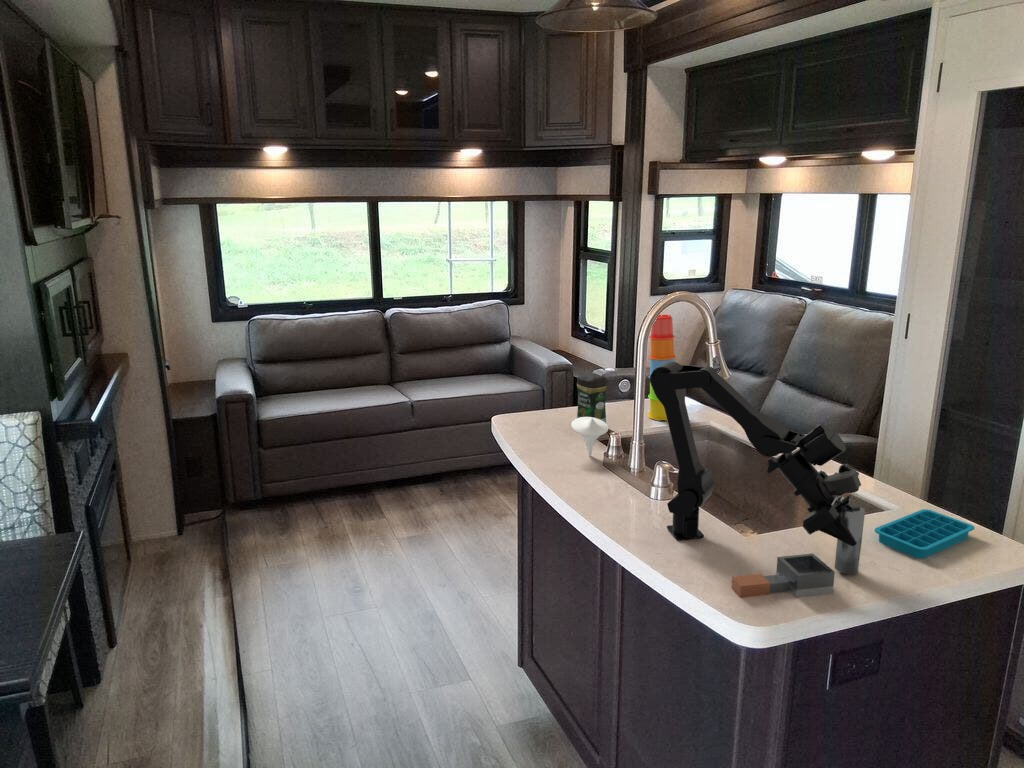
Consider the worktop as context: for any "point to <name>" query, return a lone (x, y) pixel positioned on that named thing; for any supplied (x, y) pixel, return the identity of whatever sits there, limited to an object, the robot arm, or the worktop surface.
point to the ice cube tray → (923, 533)
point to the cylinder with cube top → (849, 554)
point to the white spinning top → (589, 430)
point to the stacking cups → (660, 358)
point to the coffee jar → (591, 396)
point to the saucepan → (789, 578)
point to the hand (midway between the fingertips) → (857, 540)
